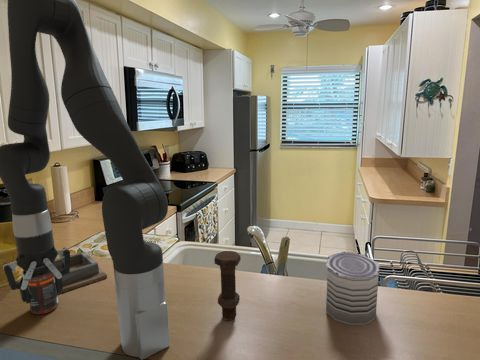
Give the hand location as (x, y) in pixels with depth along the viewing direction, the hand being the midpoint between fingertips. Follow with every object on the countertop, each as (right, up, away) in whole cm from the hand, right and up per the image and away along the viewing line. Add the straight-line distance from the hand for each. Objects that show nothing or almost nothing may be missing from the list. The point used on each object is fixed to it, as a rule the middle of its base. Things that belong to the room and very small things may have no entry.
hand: (43, 296), depth 85 cm
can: (+72, -3, -3) cm, 72 cm away
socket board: (-1, 0, +17) cm, 17 cm away
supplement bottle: (0, -3, +1) cm, 3 cm away
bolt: (+44, -3, -4) cm, 45 cm away
